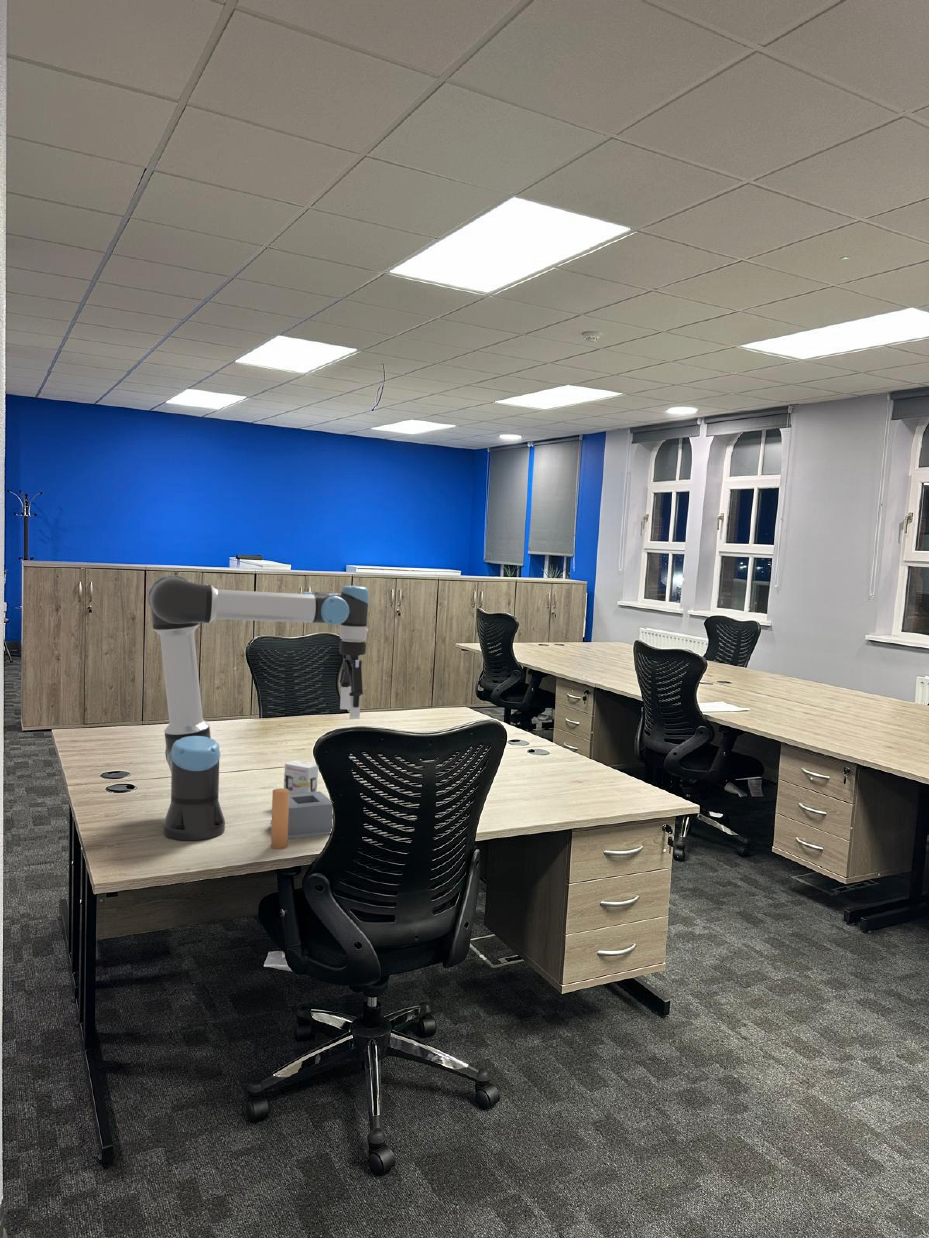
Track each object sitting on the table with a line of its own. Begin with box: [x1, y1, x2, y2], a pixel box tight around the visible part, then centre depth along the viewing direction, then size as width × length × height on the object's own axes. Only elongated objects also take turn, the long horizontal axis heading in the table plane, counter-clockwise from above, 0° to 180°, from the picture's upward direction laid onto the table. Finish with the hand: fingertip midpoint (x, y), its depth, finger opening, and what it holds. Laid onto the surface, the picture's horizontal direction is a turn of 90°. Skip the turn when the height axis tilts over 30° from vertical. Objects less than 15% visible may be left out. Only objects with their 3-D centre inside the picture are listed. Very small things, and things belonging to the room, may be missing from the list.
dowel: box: [270, 787, 289, 850], centre depth 216 cm, size 4×4×14 cm
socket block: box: [270, 790, 333, 840], centre depth 231 cm, size 14×14×8 cm
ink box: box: [283, 759, 319, 794], centre depth 251 cm, size 9×5×12 cm, turn 66°
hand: (349, 713), depth 252 cm, fingers open, 13 cm apart
